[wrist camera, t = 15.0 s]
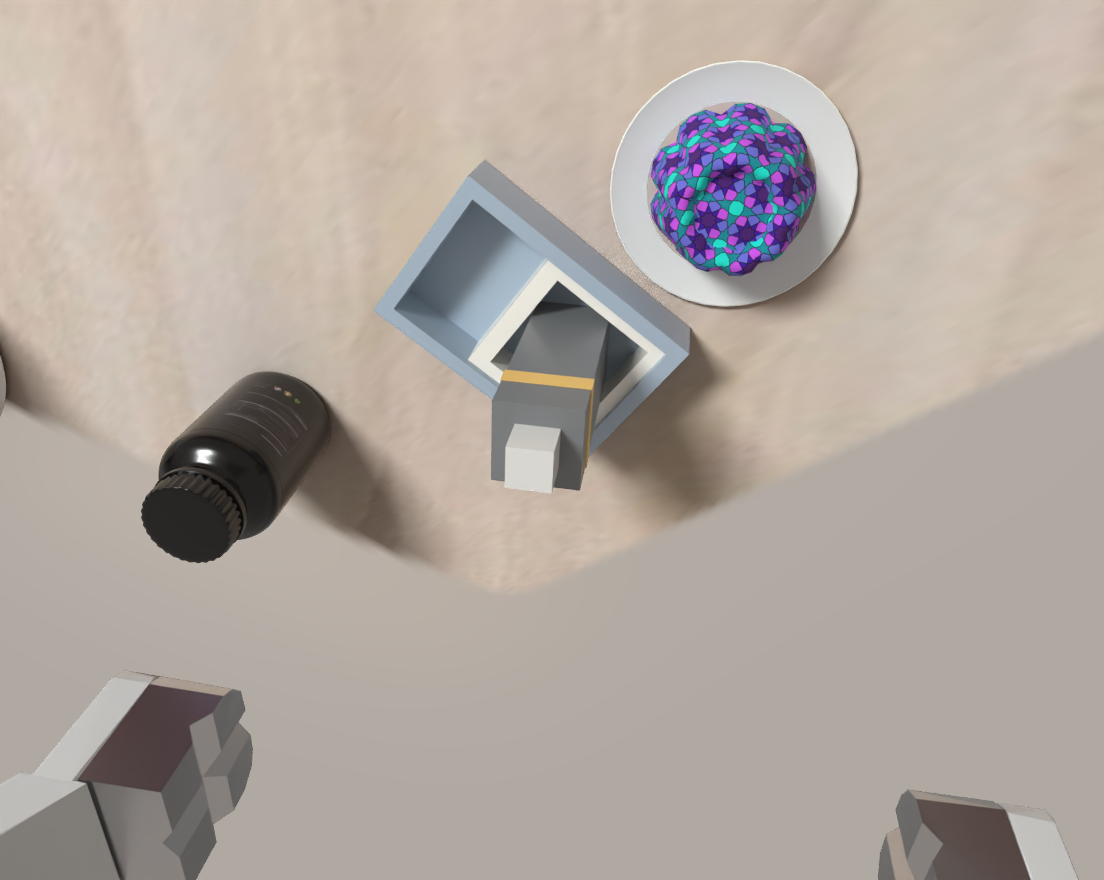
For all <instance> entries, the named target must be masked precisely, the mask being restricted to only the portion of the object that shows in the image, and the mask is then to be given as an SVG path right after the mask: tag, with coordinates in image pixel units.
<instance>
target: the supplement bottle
mask: <svg viewBox="0 0 1104 880" xmlns="http://www.w3.org/2000/svg"><path fill="white" fill-rule="evenodd" d="M330 430H331V428H330V420H329V416H328V413H327V411H326V409H325V407H324V405H323V403H322V401H321V400H320V399H319V397H318V396H317V395H316V394H315V393H314V392H313V391H312V390H311V389H310V388H309V387H308V386H307V385H305V384H304V383H303V382H301V381H299V380H298V379H296V378H294V377H291V376H289V375H286V374H282V373H278V372H258V373H254V374H250V375H248V376H246V377H244V378H242V379H241V380H239V381H238V382H236V383H235V384H234V385H233V386H232V387H231V388H230V389H229V390H228V391H226V392H225V393H224V394H223V395H222V396H221V397H220V398H219V399H218V400H217V401H216V402H215V403H214V404H213V405H212V406H210V407H209V408H208V409H207V410H206V411H205V412H204V413H203V414H202V415H201V416H200V417H199V418H198V419H197V420H196V421H194V422H193V423H192V424H191V425H190V426H189V427H188V428H187V429H186V430H185V431H184V432H183V433H182V434H181V435H180V436H179V437H177V438H176V439H175V440H174V441H173V442H172V443H171V445H170V446H169V447H168V448H167V449H166V451H165V453H164V454H163V456H162V459H161V462H160V466H159V481H158V482H157V484H156V485H155V487H154V489H152V491H151V492H150V493H149V494H148V495H147V496H146V498H145V501H144V502H143V504H142V506H143V508H142V510H141V512H142V517H141V518H142V520H143V526H144V527H145V528H146V532H147V534H148V535H150V537H151V539H152V540H153V541H154V542H155V543H156V544H157V546H158V547H160V548H162V549H163V550H164V551H165V552H166V553H169V554H171V555H172V556H173V557H177V558H179V559H181V560H186V561H188V562H197V563H200V562H206V563H207V562H208V561H214V560H215V559H216V558H219V557H221V556H222V555H223V554H224V553H225V552H227V550H228V549H229V548H230V547H231V546H232V544H233V543H235V542H236V541H237V540H241V539H246V538H249V537H252V536H255V535H257V534H259V533H261V532H262V531H264V530H265V529H266V528H268V527H269V526H270V524H271V523H272V522H273V521H274V520H275V519H276V517H277V516H278V515H279V513H280V512H281V511H282V509H283V508H284V507H285V505H286V504H287V502H288V501H289V500H290V498H291V497H292V496H293V494H294V493H295V492H296V490H297V489H298V487H299V486H300V485H301V483H302V482H303V481H304V479H305V478H306V477H307V475H308V474H309V473H310V471H311V470H312V468H313V467H314V466H315V464H316V463H317V462H318V460H319V459H320V457H321V456H322V454H323V453H324V451H325V449H326V448H327V445H328V443H329V439H330Z"/></svg>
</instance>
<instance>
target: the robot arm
mask: <svg viewBox="0 0 1104 880" xmlns="http://www.w3.org/2000/svg"><path fill="white" fill-rule="evenodd" d="M5 397H6V379H5V372H4V367H3V363H2V360H1V356H0V415H1V413H2V410H3V407H4V403H5ZM244 711H245V706H244V702H243V699H242V694H241V691H237V690H234V689H229V688H223V687H218V686H212V685H207V684H201V683H195V682H190V681H184V680H179V679H173V678H168V677H162V676H155V675H148V674H143V673H137V672H131V671H123V672H121V673H120V674H118V675H116V676H114V677H113V678H112V679H110V681H109V682H108V683H107V684H106V685H105V687H104V688H103V689H102V690H101V692H100V693H99V694H98V695H97V696H96V698H95V699H94V700H93V701H92V702H91V704H90V705H89V706H88V707H87V709H86V710H85V711H84V712H83V714H82V715H81V716H80V717H79V718H78V720H77V721H76V722H75V723H74V725H73V726H72V727H71V728H70V730H69V731H68V732H67V733H66V734H65V736H64V737H63V738H62V739H61V740H60V742H59V743H58V744H57V745H56V747H55V748H54V749H53V750H52V752H51V753H50V754H49V755H48V756H47V758H46V759H45V760H44V761H43V762H42V764H41V765H40V766H39V767H38V769H37V770H36V771H35V772H34V773H33V774H32V773H24V772H21V773H20V774H18V775H16V776H14V777H12V778H10V779H9V780H7V781H5V782H3V783H1V784H0V880H196V879H197V877H198V875H199V873H200V871H201V870H202V868H203V866H204V864H205V862H206V860H207V859H208V857H209V855H210V853H211V851H212V849H213V848H214V846H215V844H216V836H215V831H214V825H213V824H214V823H216V822H217V821H219V820H220V819H222V818H223V817H225V816H226V815H228V814H229V813H231V812H232V811H233V810H234V809H235V807H236V805H237V803H238V801H239V799H240V797H241V796H242V794H243V792H244V789H245V786H246V783H247V780H248V777H249V773H250V770H251V766H252V750H253V749H252V742H251V736H250V734H249V733H248V732H247V731H246V730H245V729H244V728H243V727H242V726H241V725H240V724H239V723H238V722H239V720H240V718H241V717H242V715H243V713H244ZM896 814H897V818H898V822H899V827H898V828H897V829H895V830H893V831H891V832H890V833H888V834H886V837H885V840H884V843H883V846H882V849H881V852H880V861H879V873H878V880H1079V879H1078V877H1077V874H1076V872H1075V869H1074V867H1073V864H1072V862H1071V860H1070V857H1069V855H1068V852H1067V850H1066V848H1065V845H1064V843H1063V841H1062V838H1061V836H1060V833H1059V831H1058V828H1057V826H1056V824H1055V821H1054V819H1053V818H1052V817H1051V816H1050V814H1049V813H1048V812H1047V811H1046V810H1042V809H1035V808H1029V807H1022V806H1016V805H1009V804H1002V803H995V802H993V801H987V800H980V799H973V798H965V797H957V796H951V795H943V794H936V793H929V792H922V791H914V790H907V791H906V792H905V793H903V794H902V795H901V798H900V800H899V803H898V805H897V807H896Z"/></svg>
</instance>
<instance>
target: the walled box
mask: <svg viewBox="0 0 1104 880" xmlns="http://www.w3.org/2000/svg"><path fill="white" fill-rule="evenodd" d="M540 301H543V302H553V303H563V304H573V305H584V306H590V307H591V308H593V309H594V310H595V311H596V312H598V313H599V314H600V315H601V316H603V317H604V318H605V319H606V320H608V321H609V322H610V333H609V345H608V357H607V369H606V377H605V382H604V386H603V391H602V395H601V399H600V404H599V408H598V413H597V417H596V421H595V426H594V430H593V435H592V439H591V444H590V448H589V456H590V455H591V454H592V453H593V452H594V451H595V450H596V449H597V448H598V447H599V446H600V445H601V444H602V443H603V442H604V441H605V440H606V439H607V438H608V437H609V436H610V435H611V434H612V433H613V431H614V430H615V429H616V428H617V427H618V426H619V425H620V424H621V423H622V422H623V421H624V420H625V419H626V418H627V417H628V416H629V415H630V414H631V413H632V412H633V411H634V410H635V409H636V408H637V407H638V406H639V405H640V404H641V403H642V402H643V401H644V400H645V399H646V398H647V397H648V396H649V395H650V394H651V393H652V392H653V391H654V390H655V389H656V388H657V387H658V386H659V385H660V384H661V383H662V382H663V381H664V380H665V379H666V378H667V377H668V375H669V374H670V373H671V372H672V371H673V370H674V369H675V368H676V367H677V366H678V365H679V364H680V363H681V362H682V361H683V360H684V359H685V358H686V357H687V356H688V355H689V349H690V327H689V326H688V325H686V324H685V323H684V322H683V321H681V320H680V319H679V318H678V317H677V316H675V315H674V314H673V313H672V312H670V311H669V310H668V309H667V308H666V307H664V306H663V305H662V304H661V303H659V302H658V301H657V300H656V299H655V298H653V297H652V296H651V295H650V294H648V293H647V292H646V291H645V290H644V289H642V288H641V287H640V286H639V285H637V284H636V283H635V282H634V281H633V280H631V279H630V278H629V277H628V276H626V275H625V274H624V273H623V272H622V271H620V270H619V269H618V268H617V267H615V266H614V265H613V264H612V263H611V262H609V261H608V260H607V259H606V258H604V257H603V256H602V255H601V254H600V253H598V252H597V251H596V250H595V249H593V248H592V247H591V246H590V245H588V244H587V243H586V242H585V241H584V240H582V239H581V238H580V237H579V236H577V235H576V234H575V233H574V232H573V231H571V230H570V229H569V228H568V227H566V226H565V225H564V224H563V223H562V222H560V221H559V220H558V219H557V218H555V217H554V216H553V215H552V214H551V213H549V212H548V211H547V210H546V209H544V208H543V207H542V206H541V205H540V204H538V203H537V202H536V201H535V200H533V199H532V198H531V197H530V196H529V195H527V194H526V193H525V192H524V191H522V190H521V189H520V188H519V187H518V186H516V185H515V184H514V183H513V182H511V181H510V180H509V179H508V178H507V177H505V176H504V175H503V174H502V173H500V172H499V171H498V170H497V169H496V168H494V167H493V166H492V165H491V164H489V163H488V162H487V161H486V160H484V161H483V162H482V163H481V164H480V165H479V166H478V167H477V168H476V169H475V170H474V171H472V172H471V173H470V174H469V175H468V177H467V178H466V179H465V181H464V182H463V184H462V185H461V187H460V188H459V189H458V191H457V192H456V194H455V195H454V197H453V198H452V199H451V201H450V202H449V204H448V205H447V206H446V208H445V209H444V211H443V212H442V214H441V215H440V216H439V218H438V219H437V221H436V222H435V223H434V225H433V226H432V228H431V229H430V231H429V232H428V233H427V235H426V236H425V238H424V239H423V241H422V242H421V243H420V245H419V246H418V248H417V249H416V250H415V252H414V253H413V255H412V256H411V258H410V259H409V260H408V262H407V263H406V265H405V266H404V267H403V269H402V270H401V272H400V273H399V275H398V276H397V277H396V279H395V280H394V282H393V283H392V285H391V286H390V287H389V289H388V290H387V292H386V293H385V294H384V296H383V297H382V299H381V300H380V302H379V303H378V304H377V306H376V307H375V309H374V310H373V311H374V312H376V313H377V314H378V315H380V316H381V317H382V318H384V319H385V320H386V321H388V322H389V323H390V324H392V325H393V326H394V327H396V328H397V329H398V330H400V331H401V332H402V333H404V334H405V335H406V336H408V337H409V338H410V339H412V340H413V341H414V342H416V343H417V344H418V345H420V346H421V347H422V348H424V349H425V350H426V351H428V352H429V353H430V354H432V355H433V356H434V357H436V358H437V359H438V360H440V361H441V362H442V363H444V364H445V365H446V366H448V367H449V368H450V369H452V370H453V371H454V372H456V373H457V374H458V375H460V376H461V377H462V378H464V379H465V380H467V381H468V382H469V383H471V384H472V385H473V386H475V387H476V388H477V389H479V390H480V391H481V392H483V393H484V394H485V395H487V396H488V397H489V398H491V399H493V397H494V395H495V393H496V391H497V389H498V387H499V384H500V379H501V377H502V375H503V372H504V370H506V369H507V367H508V365H509V363H510V361H511V359H512V357H513V354H514V352H515V350H516V348H517V346H518V344H519V342H520V340H521V337H522V335H523V333H524V331H525V329H526V327H527V325H528V322H529V320H530V318H531V316H532V314H533V312H534V310H535V307H536V306H537V305H538V303H539V302H540Z"/></svg>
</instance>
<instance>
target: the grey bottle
mask: <svg viewBox="0 0 1104 880" xmlns="http://www.w3.org/2000/svg"><path fill="white" fill-rule="evenodd" d="M609 333H610V322H609V321H608V320H606V319H605V318H604V317H603V316H601V315H600V314H599V313H598V312H596V311H595V310H594V309H593V308H591V307H590V306H584V305H573V304H563V303H553V302H543V301H540V302H539V303H538V305H537V306H536V307H535V310H534V312H533V314H532V316H531V318H530V320H529V322H528V325H527V327H526V329H525V331H524V333H523V335H522V337H521V340H520V342H519V344H518V346H517V348H516V350H515V352H514V354H513V357H512V359H511V361H510V363H509V365H508V367H507V369H506V370H504V372H503V375H502V377H501V379H500V384H499V387H498V389H497V391H496V393H495V395H494V397H493V399H492V452H491V480H497V481H505V488H511V489H519V490H527V491H535V492H543V493H552V491H553V487H555V488H564V489H572V490H580V488H581V483H582V479H583V474H584V470H585V468H586V467H587V462H588V458H589V448H590V444H591V439H592V435H593V430H594V426H595V421H596V417H597V413H598V408H599V404H600V399H601V395H602V391H603V386H604V382H605V377H606V369H607V357H608V345H609Z"/></svg>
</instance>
